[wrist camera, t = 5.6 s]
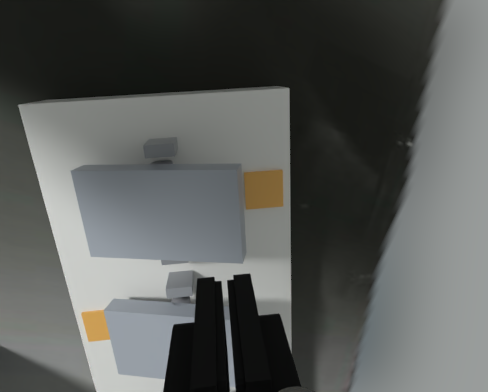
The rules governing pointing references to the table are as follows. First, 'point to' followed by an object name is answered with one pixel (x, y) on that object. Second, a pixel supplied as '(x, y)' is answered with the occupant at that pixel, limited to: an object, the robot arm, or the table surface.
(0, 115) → the table surface
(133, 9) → the table surface
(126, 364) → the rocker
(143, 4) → the table surface
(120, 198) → the rocker
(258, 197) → the switch unit
